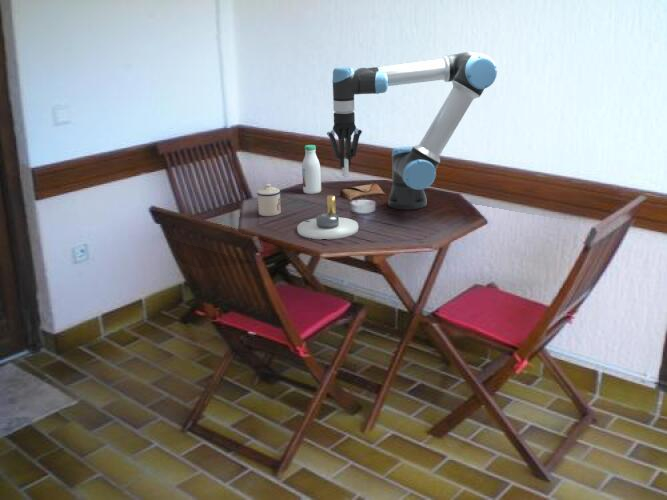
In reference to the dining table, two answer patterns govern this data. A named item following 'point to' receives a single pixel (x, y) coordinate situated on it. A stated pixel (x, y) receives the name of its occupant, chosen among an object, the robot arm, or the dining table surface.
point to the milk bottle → (311, 171)
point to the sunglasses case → (361, 191)
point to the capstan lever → (328, 215)
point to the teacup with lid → (269, 201)
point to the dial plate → (327, 229)
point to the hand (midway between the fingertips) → (345, 175)
